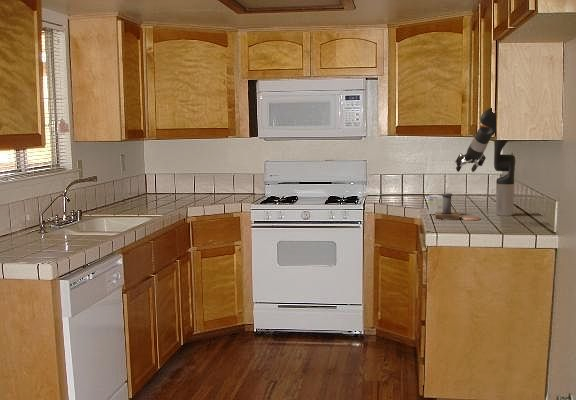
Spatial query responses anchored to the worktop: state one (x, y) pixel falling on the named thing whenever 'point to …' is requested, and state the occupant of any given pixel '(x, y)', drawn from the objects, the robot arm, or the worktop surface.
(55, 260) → the worktop surface
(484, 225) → the worktop surface
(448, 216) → the brown wooden square frame
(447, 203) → the plug
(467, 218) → the orange round disc
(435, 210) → the light bulb box
